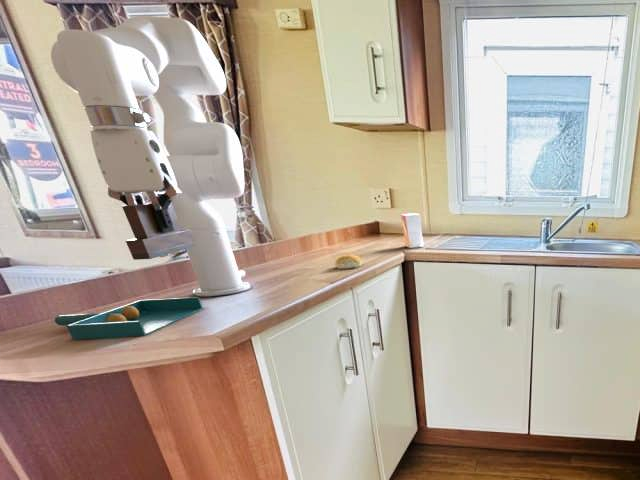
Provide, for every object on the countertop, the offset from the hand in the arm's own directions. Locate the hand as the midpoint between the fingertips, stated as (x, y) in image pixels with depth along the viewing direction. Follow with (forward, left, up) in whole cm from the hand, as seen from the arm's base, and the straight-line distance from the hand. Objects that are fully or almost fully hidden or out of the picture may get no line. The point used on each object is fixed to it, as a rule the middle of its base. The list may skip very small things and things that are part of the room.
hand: (159, 231), depth 82 cm
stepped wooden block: (0, 0, -4) cm, 4 cm away
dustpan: (+4, -12, -17) cm, 21 cm away
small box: (-100, +35, -17) cm, 108 cm away
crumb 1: (+7, -8, -14) cm, 18 cm away
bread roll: (-54, +19, -17) cm, 60 cm away
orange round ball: (+1, -11, -14) cm, 18 cm away
